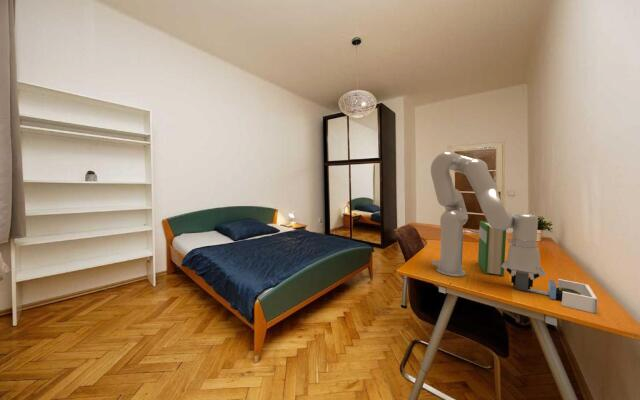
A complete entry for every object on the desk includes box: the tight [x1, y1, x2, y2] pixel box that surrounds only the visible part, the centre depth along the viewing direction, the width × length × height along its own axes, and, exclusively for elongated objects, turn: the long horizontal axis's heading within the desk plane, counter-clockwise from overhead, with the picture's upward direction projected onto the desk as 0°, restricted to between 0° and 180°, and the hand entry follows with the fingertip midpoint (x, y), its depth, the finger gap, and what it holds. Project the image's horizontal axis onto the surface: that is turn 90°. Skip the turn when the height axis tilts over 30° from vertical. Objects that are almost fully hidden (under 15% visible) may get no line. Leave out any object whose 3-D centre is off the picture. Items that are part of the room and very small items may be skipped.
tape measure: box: [556, 287, 581, 301], centre depth 87 cm, size 7×7×4 cm
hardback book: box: [477, 220, 507, 277], centre depth 118 cm, size 18×7×24 cm, turn 155°
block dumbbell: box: [514, 270, 557, 300], centre depth 94 cm, size 12×8×7 cm
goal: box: [557, 278, 599, 315], centre depth 86 cm, size 8×16×5 cm, turn 138°
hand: (521, 285), depth 96 cm, fingers closed on block dumbbell, 4 cm apart
